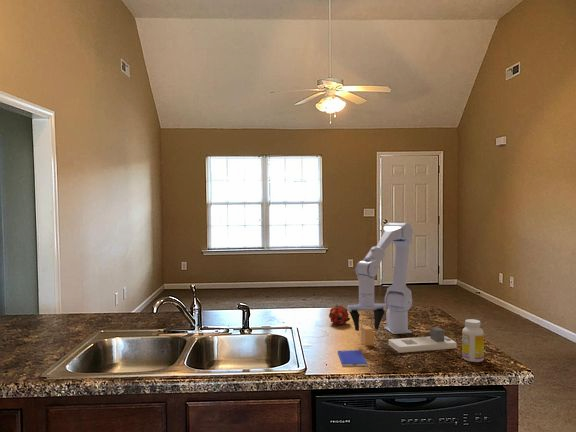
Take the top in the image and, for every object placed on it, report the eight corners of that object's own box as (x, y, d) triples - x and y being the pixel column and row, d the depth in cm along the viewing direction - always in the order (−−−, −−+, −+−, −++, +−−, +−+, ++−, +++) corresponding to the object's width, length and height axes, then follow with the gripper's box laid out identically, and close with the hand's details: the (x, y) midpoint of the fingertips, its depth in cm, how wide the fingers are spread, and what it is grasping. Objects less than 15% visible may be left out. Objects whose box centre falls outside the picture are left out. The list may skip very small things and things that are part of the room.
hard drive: (337, 350, 158) (342, 363, 146) (360, 350, 158) (367, 362, 146) (337, 354, 158) (342, 368, 146) (360, 354, 158) (367, 367, 146)
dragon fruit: (340, 323, 203) (341, 335, 191) (324, 312, 203) (324, 323, 191) (351, 308, 201) (353, 319, 190) (336, 298, 201) (336, 308, 189)
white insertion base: (388, 344, 167) (388, 328, 167) (443, 340, 171) (443, 324, 171) (399, 352, 158) (398, 335, 158) (456, 348, 162) (456, 331, 162)
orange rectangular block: (361, 341, 171) (360, 326, 171) (368, 341, 171) (368, 325, 171) (365, 345, 166) (365, 329, 166) (373, 345, 167) (372, 328, 167)
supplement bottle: (485, 357, 152) (485, 319, 151) (482, 364, 146) (482, 324, 146) (464, 354, 155) (464, 317, 155) (460, 360, 149) (460, 322, 149)
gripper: (351, 296, 163) (351, 333, 163) (389, 294, 166) (389, 331, 166) (345, 292, 170) (345, 328, 170) (381, 290, 173) (381, 326, 173)
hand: (366, 329), depth 169 cm, fingers open, 7 cm apart
